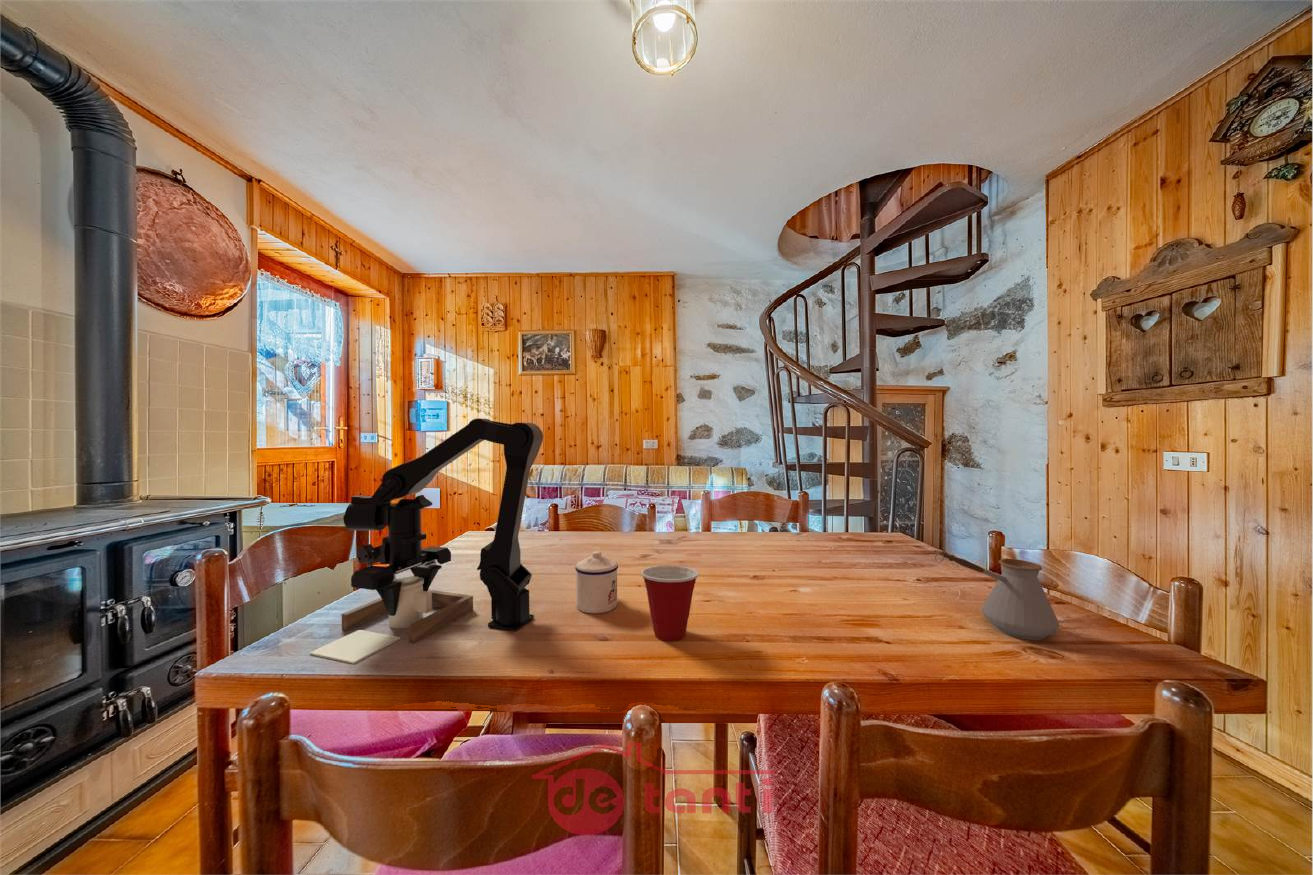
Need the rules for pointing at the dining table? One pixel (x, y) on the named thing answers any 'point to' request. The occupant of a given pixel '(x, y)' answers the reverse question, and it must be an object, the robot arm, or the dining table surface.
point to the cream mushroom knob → (411, 602)
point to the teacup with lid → (596, 584)
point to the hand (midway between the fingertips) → (406, 609)
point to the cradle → (450, 611)
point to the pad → (355, 646)
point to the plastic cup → (669, 599)
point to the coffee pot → (1016, 599)
